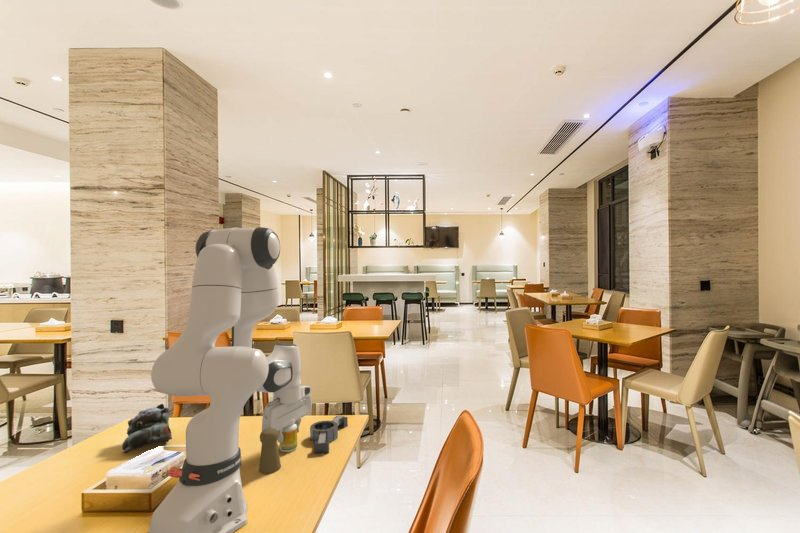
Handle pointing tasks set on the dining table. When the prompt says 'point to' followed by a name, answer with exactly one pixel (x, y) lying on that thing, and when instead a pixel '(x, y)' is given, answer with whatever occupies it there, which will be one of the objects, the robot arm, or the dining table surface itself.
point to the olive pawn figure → (269, 451)
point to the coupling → (326, 433)
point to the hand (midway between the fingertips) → (288, 437)
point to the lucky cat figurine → (148, 428)
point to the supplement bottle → (289, 437)
